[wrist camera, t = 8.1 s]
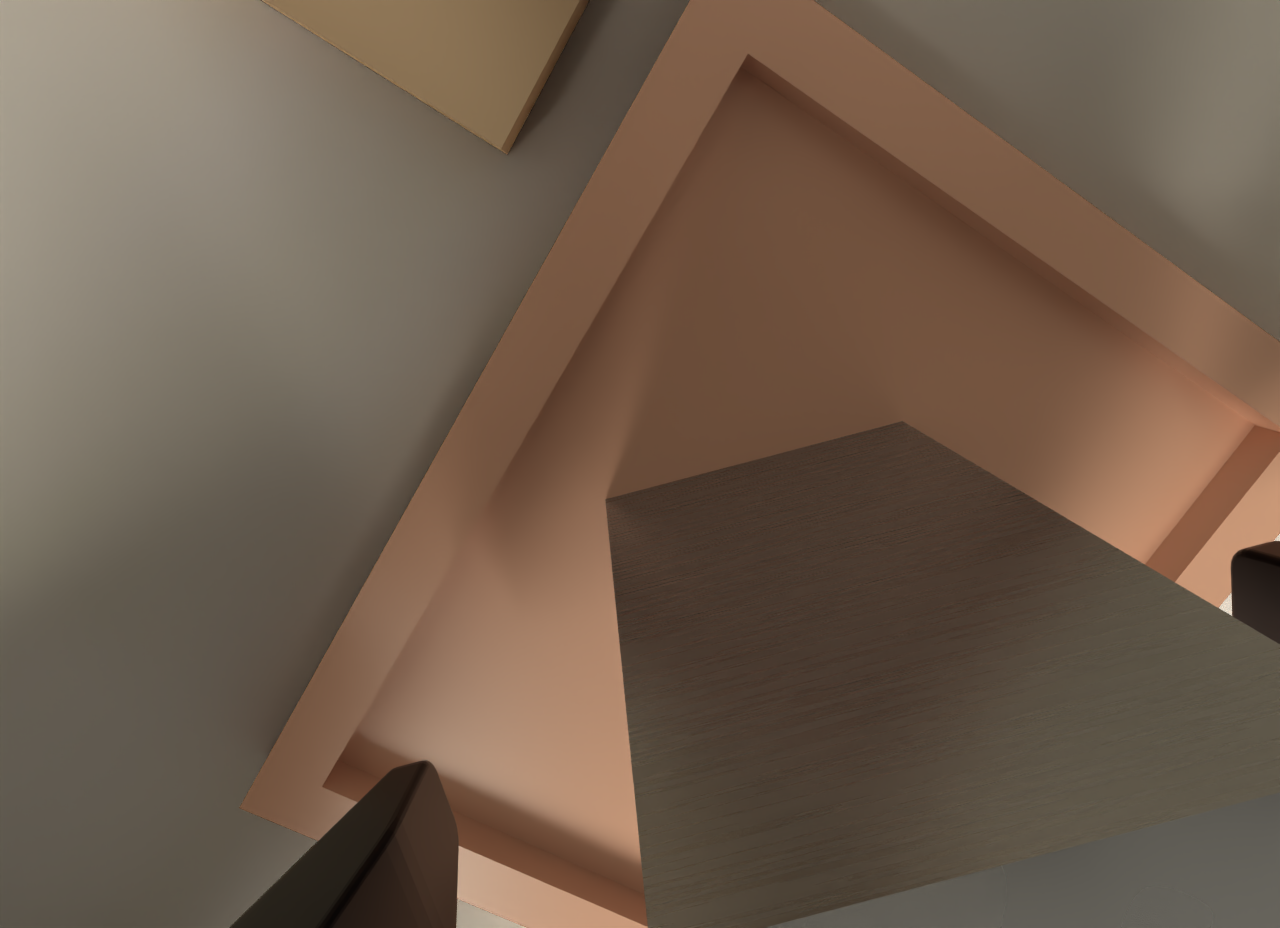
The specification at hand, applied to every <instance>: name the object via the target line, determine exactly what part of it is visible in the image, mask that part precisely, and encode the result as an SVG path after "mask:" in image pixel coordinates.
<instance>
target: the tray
mask: <svg viewBox="0 0 1280 928" xmlns="http://www.w3.org/2000/svg"><path fill="white" fill-rule="evenodd" d="M901 421H903V422H905V423H907V424H908V425H910V426H912V427H913V428H915V429H917V430H919V431H920V432H922V433H924V434H925V435H927V436H929V437H930V438H932V439H934V440H935V441H937V442H939V443H940V444H942V445H944V446H946V447H947V448H949V449H951V450H952V451H954V452H956V453H957V454H959V455H961V456H962V457H964V458H966V459H967V460H969V461H971V462H973V463H974V464H976V465H978V466H979V467H981V468H983V469H984V470H986V471H988V472H989V473H991V474H993V475H995V476H996V477H998V478H1000V479H1001V480H1003V481H1005V482H1006V483H1008V484H1010V485H1011V486H1013V487H1015V488H1016V489H1018V490H1020V491H1022V492H1023V493H1025V494H1027V495H1028V496H1030V497H1032V498H1033V499H1035V500H1037V501H1038V502H1040V503H1042V504H1043V505H1045V506H1047V507H1049V508H1050V509H1052V510H1054V511H1055V512H1057V513H1059V514H1060V515H1062V516H1064V517H1065V518H1067V519H1069V520H1071V521H1072V522H1074V523H1076V524H1077V525H1079V526H1081V527H1082V528H1084V529H1086V530H1087V531H1089V532H1091V533H1092V534H1094V535H1096V536H1098V537H1099V538H1101V539H1103V540H1104V541H1106V542H1108V543H1109V544H1111V545H1113V546H1114V547H1116V548H1118V549H1119V550H1121V551H1123V552H1125V553H1126V554H1128V555H1130V556H1131V557H1133V558H1135V559H1136V560H1138V561H1140V562H1141V563H1143V564H1145V565H1146V566H1148V567H1150V568H1152V569H1153V570H1155V571H1157V572H1158V573H1160V574H1162V575H1163V576H1165V577H1167V578H1168V579H1170V580H1172V581H1174V582H1175V583H1177V584H1179V585H1180V586H1182V587H1184V588H1185V589H1187V590H1189V591H1190V592H1192V593H1194V594H1195V595H1197V596H1199V597H1201V598H1202V599H1204V600H1206V601H1207V602H1209V603H1211V604H1212V605H1214V606H1216V607H1217V608H1219V606H1220V605H1221V604H1222V603H1223V602H1224V600H1225V599H1226V598H1227V597H1228V596H1229V594H1230V593H1231V592H1232V591H1231V560H1232V557H1233V556H1234V554H1235V553H1236V552H1237V551H1239V550H1241V549H1244V548H1247V547H1251V546H1255V545H1259V544H1263V543H1266V542H1272V541H1274V540H1275V538H1276V537H1277V536H1278V535H1279V534H1280V342H1279V341H1278V340H1276V339H1275V338H1274V337H1272V336H1271V335H1270V334H1268V333H1267V332H1266V331H1264V330H1263V329H1261V328H1260V327H1259V326H1257V325H1256V324H1255V323H1253V322H1252V321H1251V320H1249V319H1248V318H1246V317H1245V316H1244V315H1242V314H1241V313H1240V312H1238V311H1237V310H1236V309H1234V308H1233V307H1231V306H1230V305H1229V304H1227V303H1226V302H1225V301H1223V300H1222V299H1221V298H1219V297H1218V296H1216V295H1215V294H1214V293H1212V292H1211V291H1210V290H1208V289H1207V288H1206V287H1204V286H1203V285H1201V284H1200V283H1199V282H1197V281H1196V280H1195V279H1193V278H1192V277H1191V276H1189V275H1188V274H1186V273H1185V272H1184V271H1182V270H1181V269H1180V268H1178V267H1177V266H1176V265H1174V264H1173V263H1171V262H1170V261H1169V260H1167V259H1166V258H1165V257H1163V256H1162V255H1160V254H1159V253H1158V252H1156V251H1155V250H1154V249H1152V248H1151V247H1150V246H1148V245H1147V244H1145V243H1144V242H1143V241H1141V240H1140V239H1139V238H1137V237H1136V236H1135V235H1133V234H1132V233H1130V232H1129V231H1128V230H1126V229H1125V228H1124V227H1122V226H1121V225H1120V224H1118V223H1117V222H1115V221H1114V220H1113V219H1111V218H1110V217H1109V216H1107V215H1106V214H1105V213H1103V212H1102V211H1100V210H1099V209H1098V208H1096V207H1095V206H1094V205H1092V204H1091V203H1090V202H1088V201H1087V200H1085V199H1084V198H1083V197H1081V196H1080V195H1079V194H1077V193H1076V192H1075V191H1073V190H1072V189H1070V188H1069V187H1068V186H1066V185H1065V184H1064V183H1062V182H1061V181H1060V180H1058V179H1057V178H1055V177H1054V176H1053V175H1051V174H1050V173H1049V172H1047V171H1046V170H1045V169H1043V168H1042V167H1040V166H1039V165H1038V164H1036V163H1035V162H1034V161H1032V160H1031V159H1029V158H1028V157H1027V156H1025V155H1024V154H1023V153H1021V152H1020V151H1019V150H1017V149H1016V148H1014V147H1013V146H1012V145H1010V144H1009V143H1008V142H1006V141H1005V140H1004V139H1002V138H1001V137H999V136H998V135H997V134H995V133H994V132H993V131H991V130H990V129H989V128H987V127H986V126H984V125H983V124H982V123H980V122H979V121H978V120H976V119H975V118H974V117H972V116H971V115H969V114H968V113H967V112H965V111H964V110H963V109H961V108H960V107H959V106H957V105H956V104H954V103H953V102H952V101H950V100H949V99H948V98H946V97H945V96H944V95H942V94H941V93H939V92H938V91H937V90H935V89H934V88H933V87H931V86H930V85H929V84H927V83H926V82H924V81H923V80H922V79H920V78H919V77H918V76H916V75H915V74H914V73H912V72H911V71H909V70H908V69H907V68H905V67H904V66H903V65H901V64H900V63H898V62H897V61H896V60H894V59H893V58H892V57H890V56H889V55H888V54H886V53H885V52H883V51H882V50H881V49H879V48H878V47H877V46H875V45H874V44H873V43H871V42H870V41H868V40H867V39H866V38H864V37H863V36H862V35H860V34H859V33H858V32H856V31H855V30H853V29H852V28H851V27H849V26H848V25H847V24H845V23H844V22H843V21H841V20H840V19H838V18H837V17H836V16H834V15H833V14H832V13H830V12H829V11H828V10H826V9H825V8H823V7H822V6H821V5H819V4H818V3H817V2H815V1H814V0H690V1H689V3H688V5H687V7H686V8H685V10H684V12H683V14H682V15H681V17H680V19H679V21H678V23H677V24H676V26H675V28H674V30H673V32H672V33H671V35H670V37H669V39H668V41H667V42H666V44H665V46H664V48H663V50H662V51H661V53H660V55H659V57H658V58H657V60H656V62H655V64H654V66H653V67H652V69H651V71H650V73H649V75H648V76H647V78H646V80H645V82H644V84H643V85H642V87H641V89H640V91H639V93H638V94H637V96H636V98H635V100H634V101H633V103H632V105H631V107H630V109H629V110H628V112H627V114H626V116H625V118H624V119H623V121H622V123H621V125H620V127H619V128H618V130H617V132H616V134H615V135H614V137H613V139H612V141H611V143H610V144H609V146H608V148H607V150H606V152H605V153H604V155H603V157H602V159H601V161H600V162H599V164H598V166H597V168H596V170H595V171H594V173H593V175H592V177H591V178H590V180H589V182H588V184H587V186H586V187H585V189H584V191H583V193H582V195H581V196H580V198H579V200H578V202H577V204H576V205H575V207H574V209H573V211H572V213H571V214H570V216H569V218H568V220H567V221H566V223H565V225H564V227H563V229H562V230H561V232H560V234H559V236H558V238H557V239H556V241H555V243H554V245H553V247H552V248H551V250H550V252H549V254H548V256H547V257H546V259H545V261H544V263H543V264H542V266H541V268H540V270H539V272H538V273H537V275H536V277H535V279H534V281H533V282H532V284H531V286H530V288H529V290H528V291H527V293H526V295H525V297H524V299H523V300H522V302H521V304H520V306H519V307H518V309H517V311H516V313H515V315H514V316H513V318H512V320H511V322H510V324H509V325H508V327H507V329H506V331H505V333H504V334H503V336H502V338H501V340H500V342H499V343H498V345H497V347H496V349H495V350H494V352H493V354H492V356H491V358H490V359H489V361H488V363H487V365H486V367H485V368H484V370H483V372H482V374H481V376H480V377H479V379H478V381H477V383H476V385H475V386H474V388H473V390H472V392H471V393H470V395H469V397H468V399H467V401H466V402H465V404H464V406H463V408H462V410H461V411H460V413H459V415H458V417H457V419H456V420H455V422H454V424H453V426H452V428H451V429H450V431H449V433H448V435H447V436H446V438H445V440H444V442H443V444H442V445H441V447H440V449H439V451H438V453H437V454H436V456H435V458H434V460H433V462H432V463H431V465H430V467H429V469H428V471H427V472H426V474H425V476H424V478H423V479H422V481H421V483H420V485H419V487H418V488H417V490H416V492H415V494H414V496H413V497H412V499H411V501H410V503H409V505H408V506H407V508H406V510H405V512H404V514H403V515H402V517H401V519H400V521H399V522H398V524H397V526H396V528H395V530H394V531H393V533H392V535H391V537H390V539H389V540H388V542H387V544H386V546H385V548H384V549H383V551H382V553H381V555H380V557H379V558H378V560H377V562H376V564H375V565H374V567H373V569H372V571H371V573H370V574H369V576H368V578H367V580H366V582H365V583H364V585H363V587H362V589H361V591H360V592H359V594H358V596H357V598H356V600H355V601H354V603H353V605H352V607H351V608H350V610H349V612H348V614H347V616H346V617H345V619H344V621H343V623H342V625H341V626H340V628H339V630H338V632H337V634H336V635H335V637H334V639H333V641H332V643H331V644H330V646H329V648H328V650H327V651H326V653H325V655H324V657H323V659H322V660H321V662H320V664H319V666H318V668H317V669H316V671H315V673H314V675H313V677H312V678H311V680H310V682H309V684H308V686H307V687H306V689H305V691H304V693H303V694H302V696H301V698H300V700H299V702H298V703H297V705H296V707H295V709H294V711H293V712H292V714H291V716H290V718H289V720H288V721H287V723H286V725H285V727H284V729H283V730H282V732H281V734H280V736H279V737H278V739H277V741H276V743H275V745H274V746H273V748H272V750H271V752H270V754H269V755H268V757H267V759H266V761H265V763H264V764H263V766H262V768H261V770H260V772H259V773H258V775H257V777H256V779H255V780H254V782H253V784H252V786H251V788H250V789H249V791H248V793H247V795H246V797H245V798H244V800H243V802H242V804H241V806H240V807H239V808H240V809H242V810H245V811H247V812H249V813H252V814H254V815H257V816H259V817H261V818H264V819H266V820H269V821H271V822H273V823H276V824H278V825H281V826H283V827H285V828H288V829H290V830H293V831H295V832H298V833H300V834H302V835H305V836H307V837H310V838H312V839H314V840H317V841H319V840H320V839H321V838H322V837H323V836H324V835H325V834H326V833H327V832H328V831H329V830H330V829H331V828H332V827H333V826H334V825H335V824H336V823H337V822H338V821H339V820H340V819H341V818H342V817H343V816H344V815H345V814H346V813H347V812H348V811H349V810H350V809H351V808H352V807H353V806H354V805H355V804H356V803H357V802H359V801H360V800H361V799H362V798H363V797H364V796H365V795H366V794H367V793H368V792H369V791H370V790H371V789H372V788H373V787H374V786H375V785H376V784H377V783H378V782H379V781H380V780H381V779H382V778H383V777H384V776H385V775H386V774H387V773H388V772H389V771H390V770H392V769H393V768H395V767H398V766H402V765H406V764H410V763H414V762H418V761H422V760H427V761H430V762H431V763H432V764H433V765H434V767H435V768H436V770H437V772H438V775H439V778H440V780H441V783H442V786H443V788H444V791H445V794H446V796H447V799H448V802H449V804H450V807H451V810H452V812H453V815H454V818H455V821H456V825H457V830H458V838H459V853H458V886H457V899H459V900H461V901H464V902H466V903H468V904H471V905H473V906H476V907H478V908H480V909H483V910H485V911H488V912H490V913H492V914H495V915H497V916H500V917H502V918H505V919H507V920H509V921H512V922H514V923H517V924H519V925H521V926H524V927H526V928H648V925H647V915H646V904H645V894H644V884H643V874H642V864H641V854H640V844H639V834H638V824H637V814H636V804H635V794H634V784H633V774H632V764H631V753H630V743H629V733H628V723H627V713H626V703H625V693H624V683H623V673H622V663H621V653H620V643H619V633H618V623H617V613H616V602H615V592H614V582H613V572H612V562H611V552H610V542H609V532H608V522H607V512H606V502H605V499H608V498H612V497H616V496H620V495H623V494H627V493H631V492H635V491H639V490H642V489H646V488H650V487H654V486H658V485H662V484H665V483H669V482H673V481H677V480H681V479H684V478H688V477H692V476H696V475H700V474H703V473H707V472H711V471H715V470H719V469H722V468H726V467H730V466H734V465H738V464H741V463H745V462H749V461H753V460H757V459H760V458H764V457H768V456H772V455H776V454H779V453H783V452H787V451H791V450H795V449H798V448H802V447H806V446H810V445H814V444H817V443H821V442H825V441H829V440H833V439H836V438H840V437H844V436H848V435H852V434H856V433H859V432H863V431H867V430H871V429H875V428H878V427H882V426H886V425H890V424H894V423H897V422H901Z"/></svg>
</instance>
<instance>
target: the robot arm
mask: <svg viewBox="0 0 1280 928" xmlns="http://www.w3.org/2000/svg"><path fill="white" fill-rule="evenodd" d="M1231 591H1232V616H1233V617H1234V618H1236V619H1238V620H1239V621H1241V622H1243V623H1244V624H1246V625H1248V626H1250V627H1251V628H1253V629H1255V630H1256V631H1258V632H1260V633H1261V634H1263V635H1265V636H1266V637H1268V638H1270V639H1271V640H1273V641H1275V642H1277V643H1278V644H1280V541H1272V542H1266V543H1263V544H1259V545H1255V546H1251V547H1247V548H1244V549H1241V550H1239V551H1237V552H1236V553H1235V554H1234V556H1233V557H1232V560H1231ZM458 853H459V838H458V830H457V825H456V821H455V818H454V815H453V812H452V810H451V807H450V804H449V802H448V799H447V796H446V794H445V791H444V788H443V786H442V783H441V780H440V778H439V775H438V772H437V770H436V768H435V767H434V765H433V764H432V763H431V762H430V761H427V760H422V761H418V762H414V763H410V764H406V765H402V766H398V767H395V768H393V769H392V770H390V771H389V772H388V773H387V774H386V775H385V776H384V777H383V778H382V779H381V780H380V781H379V782H378V783H377V784H376V785H375V786H374V787H373V788H372V789H371V790H370V791H369V792H368V793H367V794H366V795H365V796H364V797H363V798H362V799H361V800H360V801H359V802H357V803H356V804H355V805H354V806H353V807H352V808H351V809H350V810H349V811H348V812H347V813H346V814H345V815H344V816H343V817H342V818H341V819H340V820H339V821H338V822H337V823H336V824H335V825H334V826H333V827H332V828H331V829H330V830H329V831H328V832H327V833H326V834H325V835H324V836H323V837H322V838H321V839H320V840H319V841H318V842H317V843H316V844H314V845H313V846H312V847H311V848H310V849H309V850H308V851H307V852H306V853H305V854H304V855H303V856H302V857H301V858H300V859H299V860H298V861H297V862H296V863H295V864H294V865H293V866H292V867H291V868H290V869H289V870H288V871H287V872H286V873H285V874H284V875H283V876H282V877H281V878H280V879H279V880H278V881H277V882H276V883H275V884H274V885H273V886H271V887H270V888H269V889H268V890H267V891H266V892H265V893H264V894H263V895H262V896H261V897H260V898H259V899H258V900H257V901H256V902H255V903H254V904H253V905H252V906H251V907H250V908H249V909H248V910H247V911H246V912H245V913H244V914H243V915H242V916H241V917H240V918H239V919H238V920H237V921H236V922H235V923H234V924H233V925H232V926H231V927H230V928H456V918H457V886H458Z"/></svg>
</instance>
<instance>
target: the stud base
mask: <svg viewBox="0 0 1280 928" xmlns="http://www.w3.org/2000/svg"><path fill="white" fill-rule="evenodd" d="M261 1H263V2H264V3H266V4H268V5H269V6H271V7H272V8H274V9H276V10H277V11H279V12H280V13H282V14H284V15H285V16H287V17H288V18H290V19H292V20H293V21H295V22H296V23H298V24H300V25H301V26H303V27H304V28H306V29H307V30H309V31H311V32H312V33H314V34H315V35H317V36H319V37H320V38H322V39H323V40H325V41H327V42H328V43H330V44H331V45H333V46H335V47H336V48H338V49H339V50H341V51H343V52H344V53H346V54H347V55H349V56H351V57H352V58H354V59H355V60H357V61H358V62H360V63H362V64H363V65H365V66H366V67H368V68H370V69H371V70H373V71H374V72H376V73H378V74H379V75H381V76H382V77H384V78H386V79H387V80H389V81H390V82H392V83H394V84H395V85H397V86H398V87H400V88H401V89H403V90H405V91H406V92H408V93H409V94H411V95H413V96H414V97H416V98H417V99H419V100H421V101H422V102H424V103H425V104H427V105H429V106H430V107H432V108H433V109H435V110H437V111H438V112H440V113H441V114H443V115H445V116H446V117H448V118H449V119H451V120H452V121H454V122H456V123H457V124H459V125H460V126H462V127H464V128H465V129H467V130H468V131H470V132H472V133H473V134H475V135H476V136H478V137H480V138H481V139H483V140H484V141H486V142H488V143H489V144H491V145H492V146H494V147H496V148H497V149H499V150H500V151H502V152H503V153H505V154H508V152H509V151H510V149H511V147H512V145H513V143H514V141H515V139H516V137H517V136H518V134H519V132H520V130H521V128H522V126H523V124H524V122H525V120H526V119H527V117H528V115H529V113H530V111H531V109H532V107H533V105H534V104H535V102H536V100H537V98H538V96H539V94H540V92H541V90H542V89H543V87H544V85H545V83H546V81H547V79H548V77H549V75H550V74H551V72H552V70H553V68H554V66H555V64H556V62H557V60H558V58H559V57H560V55H561V53H562V51H563V49H564V47H565V45H566V43H567V42H568V40H569V38H570V36H571V34H572V32H573V30H574V28H575V27H576V25H577V23H578V21H579V19H580V17H581V15H582V13H583V12H584V10H585V8H586V6H587V4H588V2H589V0H261Z"/></svg>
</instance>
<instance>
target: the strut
mask: <svg viewBox="0 0 1280 928" xmlns="http://www.w3.org/2000/svg"><path fill="white" fill-rule="evenodd" d="M605 502H606V512H607V522H608V532H609V542H610V552H611V562H612V572H613V582H614V592H615V602H616V613H617V623H618V633H619V643H620V653H621V663H622V673H623V683H624V693H625V703H626V713H627V723H628V733H629V743H630V753H631V764H632V774H633V784H634V794H635V804H636V814H637V824H638V834H639V844H640V854H641V864H642V874H643V884H644V894H645V904H646V915H647V925H648V928H1280V644H1278V643H1277V642H1275V641H1273V640H1271V639H1270V638H1268V637H1266V636H1265V635H1263V634H1261V633H1260V632H1258V631H1256V630H1255V629H1253V628H1251V627H1250V626H1248V625H1246V624H1244V623H1243V622H1241V621H1239V620H1238V619H1236V618H1234V617H1233V616H1231V615H1229V614H1228V613H1226V612H1224V611H1222V610H1221V609H1219V608H1217V607H1216V606H1214V605H1212V604H1211V603H1209V602H1207V601H1206V600H1204V599H1202V598H1201V597H1199V596H1197V595H1195V594H1194V593H1192V592H1190V591H1189V590H1187V589H1185V588H1184V587H1182V586H1180V585H1179V584H1177V583H1175V582H1174V581H1172V580H1170V579H1168V578H1167V577H1165V576H1163V575H1162V574H1160V573H1158V572H1157V571H1155V570H1153V569H1152V568H1150V567H1148V566H1146V565H1145V564H1143V563H1141V562H1140V561H1138V560H1136V559H1135V558H1133V557H1131V556H1130V555H1128V554H1126V553H1125V552H1123V551H1121V550H1119V549H1118V548H1116V547H1114V546H1113V545H1111V544H1109V543H1108V542H1106V541H1104V540H1103V539H1101V538H1099V537H1098V536H1096V535H1094V534H1092V533H1091V532H1089V531H1087V530H1086V529H1084V528H1082V527H1081V526H1079V525H1077V524H1076V523H1074V522H1072V521H1071V520H1069V519H1067V518H1065V517H1064V516H1062V515H1060V514H1059V513H1057V512H1055V511H1054V510H1052V509H1050V508H1049V507H1047V506H1045V505H1043V504H1042V503H1040V502H1038V501H1037V500H1035V499H1033V498H1032V497H1030V496H1028V495H1027V494H1025V493H1023V492H1022V491H1020V490H1018V489H1016V488H1015V487H1013V486H1011V485H1010V484H1008V483H1006V482H1005V481H1003V480H1001V479H1000V478H998V477H996V476H995V475H993V474H991V473H989V472H988V471H986V470H984V469H983V468H981V467H979V466H978V465H976V464H974V463H973V462H971V461H969V460H967V459H966V458H964V457H962V456H961V455H959V454H957V453H956V452H954V451H952V450H951V449H949V448H947V447H946V446H944V445H942V444H940V443H939V442H937V441H935V440H934V439H932V438H930V437H929V436H927V435H925V434H924V433H922V432H920V431H919V430H917V429H915V428H913V427H912V426H910V425H908V424H907V423H905V422H903V421H901V422H897V423H894V424H890V425H886V426H882V427H878V428H875V429H871V430H867V431H863V432H859V433H856V434H852V435H848V436H844V437H840V438H836V439H833V440H829V441H825V442H821V443H817V444H814V445H810V446H806V447H802V448H798V449H795V450H791V451H787V452H783V453H779V454H776V455H772V456H768V457H764V458H760V459H757V460H753V461H749V462H745V463H741V464H738V465H734V466H730V467H726V468H722V469H719V470H715V471H711V472H707V473H703V474H700V475H696V476H692V477H688V478H684V479H681V480H677V481H673V482H669V483H665V484H662V485H658V486H654V487H650V488H646V489H642V490H639V491H635V492H631V493H627V494H623V495H620V496H616V497H612V498H608V499H605Z"/></svg>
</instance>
